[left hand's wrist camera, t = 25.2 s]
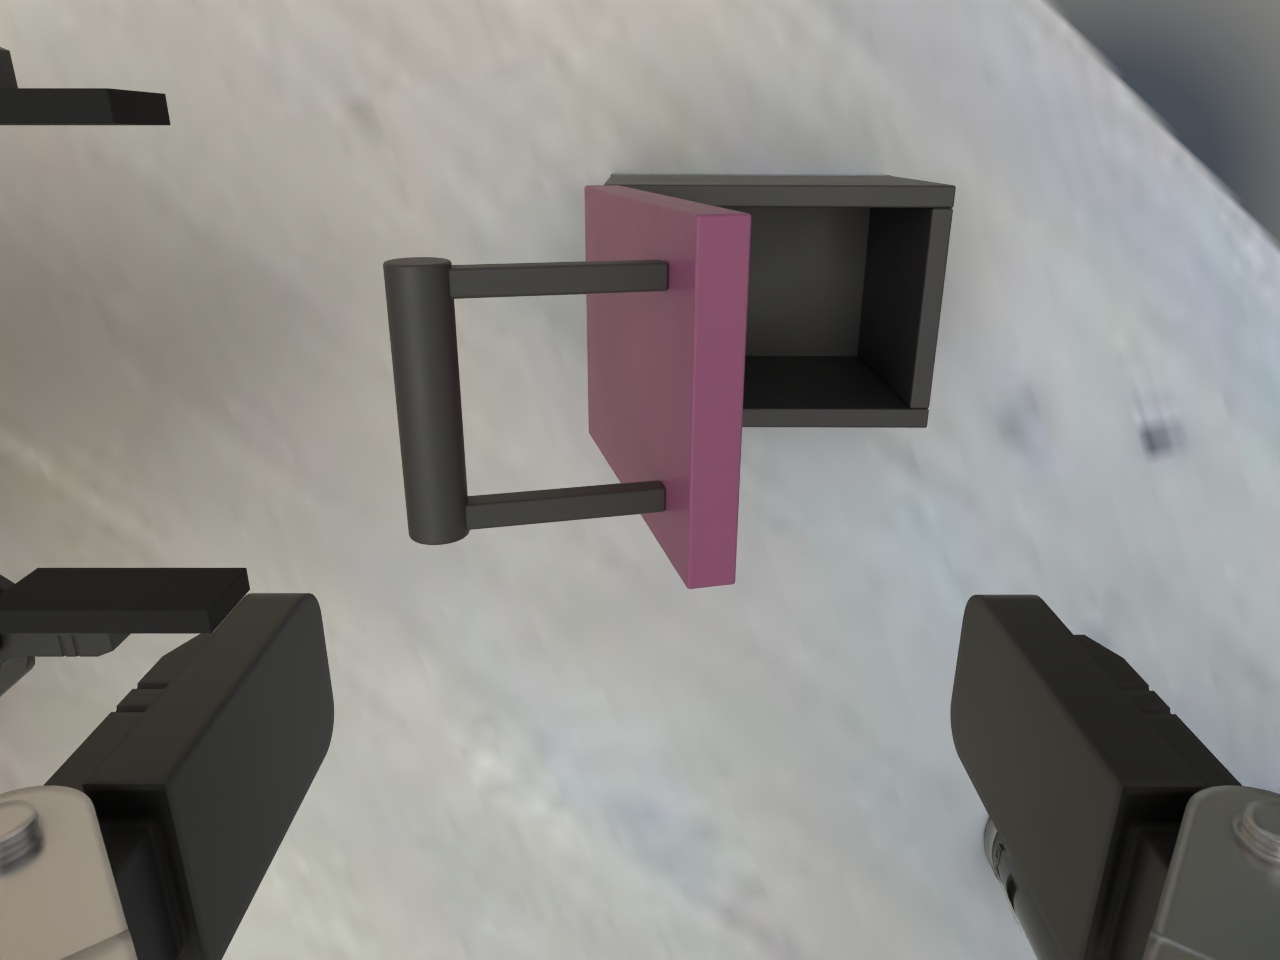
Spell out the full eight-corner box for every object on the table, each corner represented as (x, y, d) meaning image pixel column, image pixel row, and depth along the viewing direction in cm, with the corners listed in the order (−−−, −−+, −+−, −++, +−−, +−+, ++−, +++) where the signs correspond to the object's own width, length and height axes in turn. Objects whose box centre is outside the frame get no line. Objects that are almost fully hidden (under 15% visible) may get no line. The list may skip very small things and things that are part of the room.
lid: (752, 213, 20) (374, 219, 18) (735, 584, 23) (414, 621, 21) (620, 185, 32) (386, 187, 30) (621, 431, 35) (409, 446, 33)
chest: (885, 175, 42) (957, 185, 33) (867, 368, 45) (927, 428, 36) (611, 174, 42) (602, 184, 33) (612, 367, 45) (605, 427, 36)
